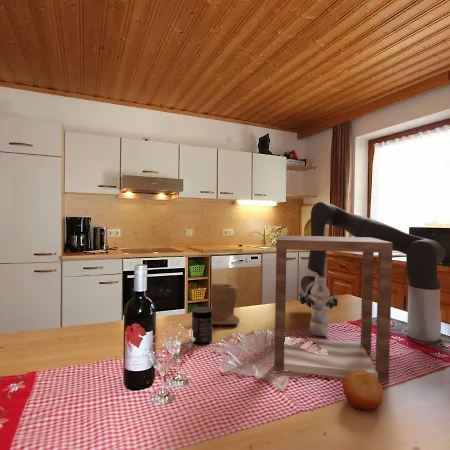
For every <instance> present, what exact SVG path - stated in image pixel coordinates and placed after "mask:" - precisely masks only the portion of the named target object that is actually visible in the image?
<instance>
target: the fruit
mask: <svg viewBox="0 0 450 450" xmlns="http://www.w3.org/2000/svg"><path fill="white" fill-rule="evenodd" d="M383 390H384V388H383V386H382V385H381V383H380V381H378V379H377V378H376V377H375V376H373V375H371V374H369V373H368V372H367V371H365V370H354V371H351V372H349V373H348V374H346V376H345V377H342V392H343V394H344V397H345V398H346V400H347V402H349V404H350V405H351V406H352V407H353V408H354V409H355V410H359V411H367V410H368V411H370V410H374V409H375V410H376V409H378V408H379V407H381V405H382V402H383Z"/></svg>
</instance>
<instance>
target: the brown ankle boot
mask: <svg viewBox="0 0 450 450" xmlns="http://www.w3.org/2000/svg"><path fill="white" fill-rule="evenodd" d="M238 290H239V289H238V287H237V285H234V284H230V283H229V284H227V283H212V284H211V286H210V291H209V296H210V303H211V304H210V305H211V308H212V309H213V318H212V326H213V325H214V326H217V325H218V326H219V325H220V326H224V325H225V326H229V325H238V324H239V323H240V318H239V317H238V316H236V315H235V314H234V312H235V307H236V304H237V301H238V294H239V293H238Z"/></svg>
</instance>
